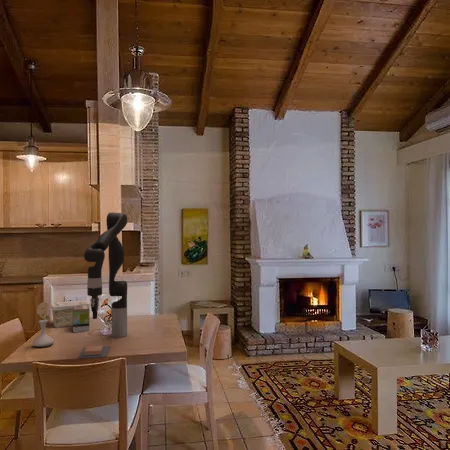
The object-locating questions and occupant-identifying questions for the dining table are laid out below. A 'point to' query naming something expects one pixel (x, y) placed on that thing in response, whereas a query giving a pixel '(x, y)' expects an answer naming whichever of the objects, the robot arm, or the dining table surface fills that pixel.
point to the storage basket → (65, 312)
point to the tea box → (81, 318)
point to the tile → (93, 350)
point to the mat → (103, 354)
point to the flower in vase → (43, 327)
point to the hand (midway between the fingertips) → (95, 318)
